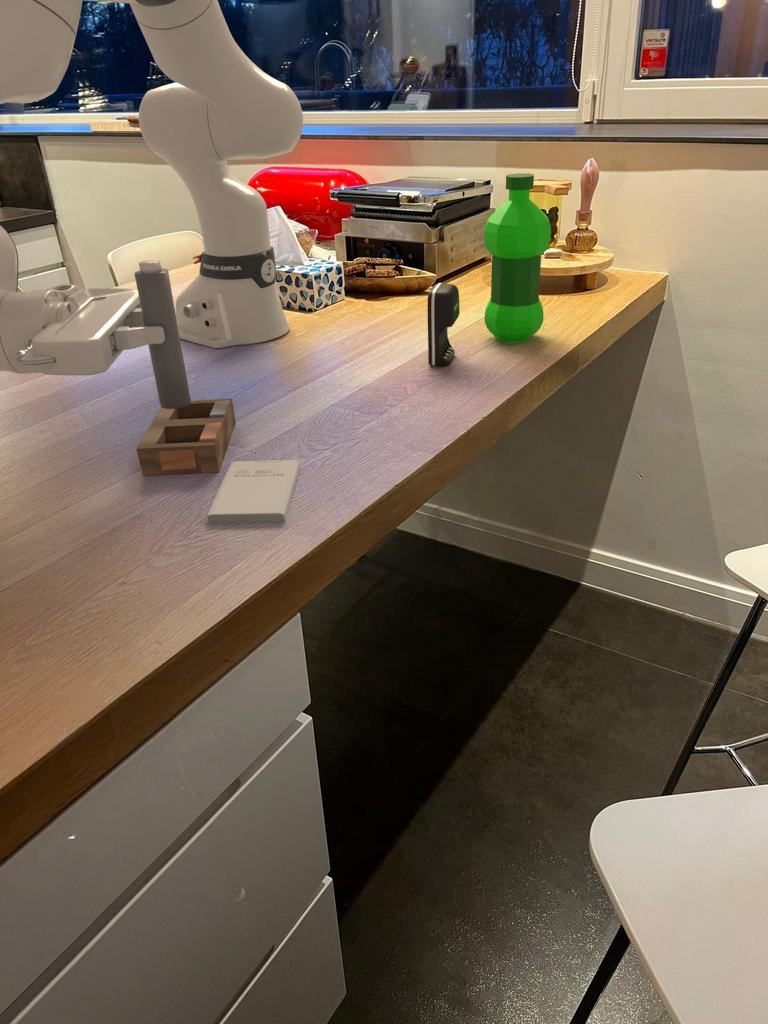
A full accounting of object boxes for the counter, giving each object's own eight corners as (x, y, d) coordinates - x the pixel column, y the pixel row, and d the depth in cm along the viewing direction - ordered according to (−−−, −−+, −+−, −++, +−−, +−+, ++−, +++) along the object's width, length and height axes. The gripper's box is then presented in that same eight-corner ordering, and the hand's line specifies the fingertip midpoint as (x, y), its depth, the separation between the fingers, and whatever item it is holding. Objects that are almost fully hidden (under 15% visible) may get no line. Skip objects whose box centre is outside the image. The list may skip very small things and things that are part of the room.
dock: (218, 472, 91) (213, 443, 89) (142, 476, 91) (135, 447, 89) (236, 422, 104) (232, 395, 102) (168, 425, 104) (163, 399, 102)
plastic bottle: (506, 352, 123) (513, 182, 111) (470, 335, 131) (472, 175, 119) (557, 340, 127) (569, 175, 114) (518, 324, 135) (526, 168, 123)
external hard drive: (208, 527, 82) (232, 472, 93) (285, 526, 81) (300, 471, 92) (206, 514, 81) (230, 460, 92) (284, 512, 81) (299, 458, 91)
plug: (154, 404, 91) (125, 263, 82) (178, 395, 93) (152, 257, 85) (172, 411, 89) (145, 267, 81) (197, 401, 91) (173, 260, 83)
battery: (452, 368, 118) (452, 293, 112) (427, 367, 119) (426, 292, 113) (460, 353, 124) (461, 280, 118) (437, 352, 125) (436, 280, 119)
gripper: (-2, 333, 76) (140, 326, 76) (67, 280, 93) (182, 275, 93) (16, 394, 79) (153, 387, 79) (79, 332, 96) (191, 327, 96)
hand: (169, 326), depth 86 cm, fingers closed on plug, 3 cm apart
